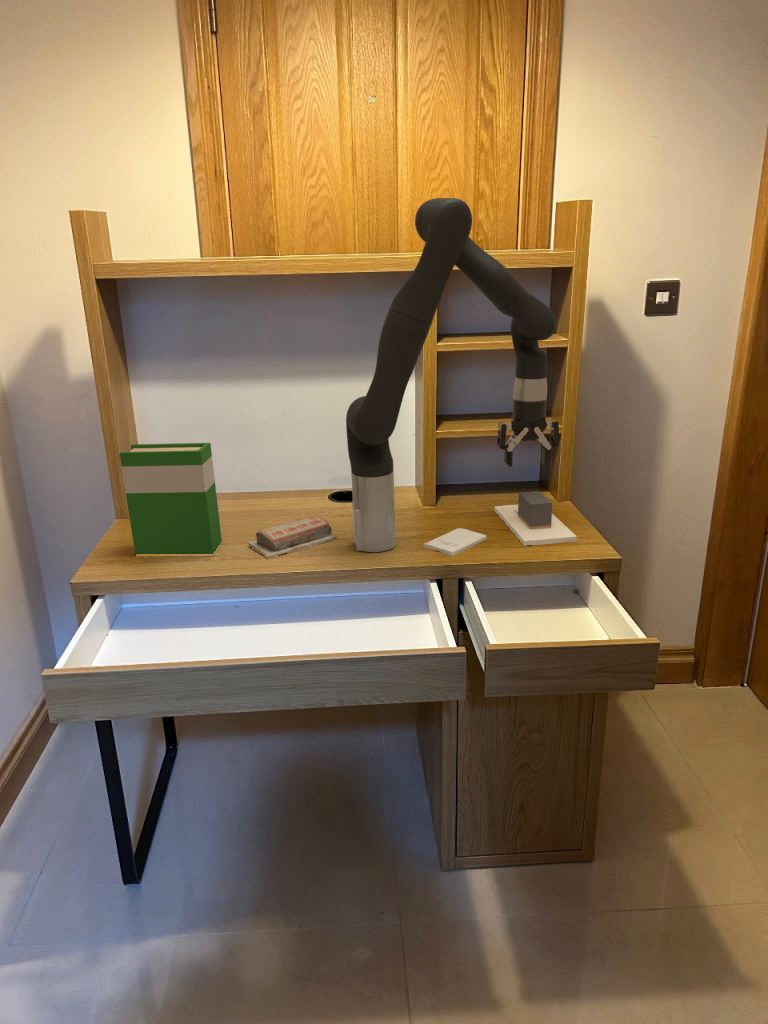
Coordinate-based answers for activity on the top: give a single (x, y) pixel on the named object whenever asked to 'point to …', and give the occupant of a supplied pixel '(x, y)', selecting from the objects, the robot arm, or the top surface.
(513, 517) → the board
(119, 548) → the top surface
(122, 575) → the top surface
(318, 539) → the packaged product
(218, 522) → the hardback book
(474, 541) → the external hard drive
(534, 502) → the block
